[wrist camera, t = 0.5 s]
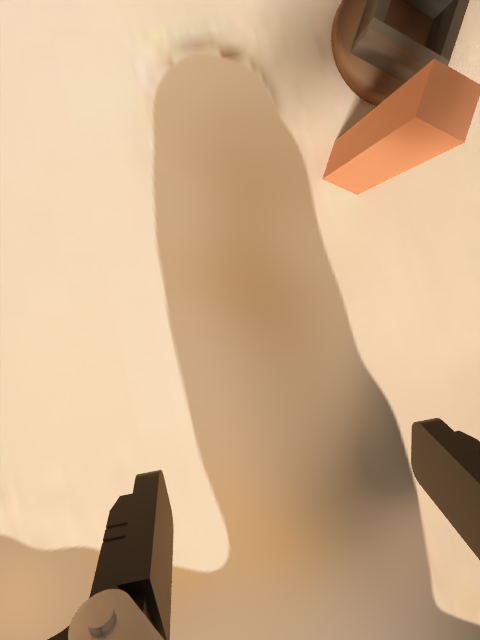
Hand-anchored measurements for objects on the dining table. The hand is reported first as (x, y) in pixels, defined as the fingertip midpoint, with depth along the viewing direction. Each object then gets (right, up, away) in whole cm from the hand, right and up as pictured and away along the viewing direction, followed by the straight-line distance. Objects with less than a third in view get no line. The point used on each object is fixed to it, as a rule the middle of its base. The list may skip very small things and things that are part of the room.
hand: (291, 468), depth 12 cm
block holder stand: (+13, +32, +28) cm, 44 cm away
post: (+9, +20, +27) cm, 35 cm away
